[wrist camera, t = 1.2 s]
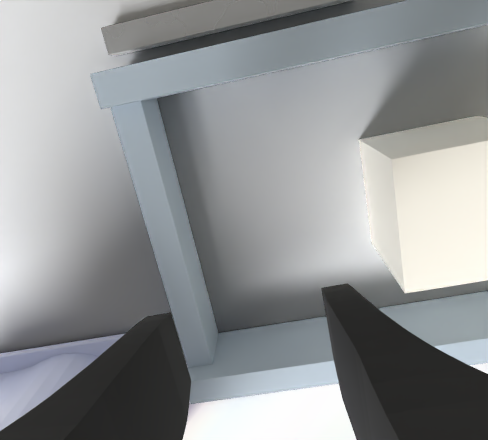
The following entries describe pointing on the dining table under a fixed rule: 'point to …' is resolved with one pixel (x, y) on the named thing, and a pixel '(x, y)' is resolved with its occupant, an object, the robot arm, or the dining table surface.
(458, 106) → the dining table surface
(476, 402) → the robot arm
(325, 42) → the pale blue square frame
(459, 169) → the cube
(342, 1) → the crook tool
